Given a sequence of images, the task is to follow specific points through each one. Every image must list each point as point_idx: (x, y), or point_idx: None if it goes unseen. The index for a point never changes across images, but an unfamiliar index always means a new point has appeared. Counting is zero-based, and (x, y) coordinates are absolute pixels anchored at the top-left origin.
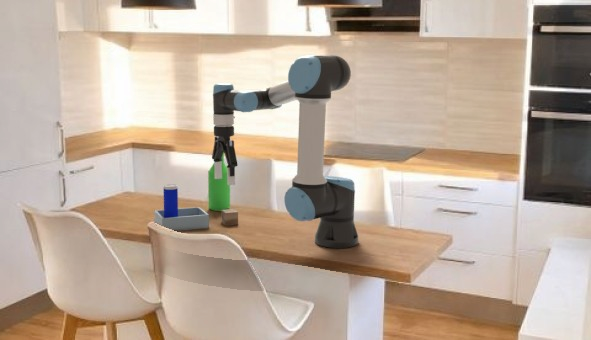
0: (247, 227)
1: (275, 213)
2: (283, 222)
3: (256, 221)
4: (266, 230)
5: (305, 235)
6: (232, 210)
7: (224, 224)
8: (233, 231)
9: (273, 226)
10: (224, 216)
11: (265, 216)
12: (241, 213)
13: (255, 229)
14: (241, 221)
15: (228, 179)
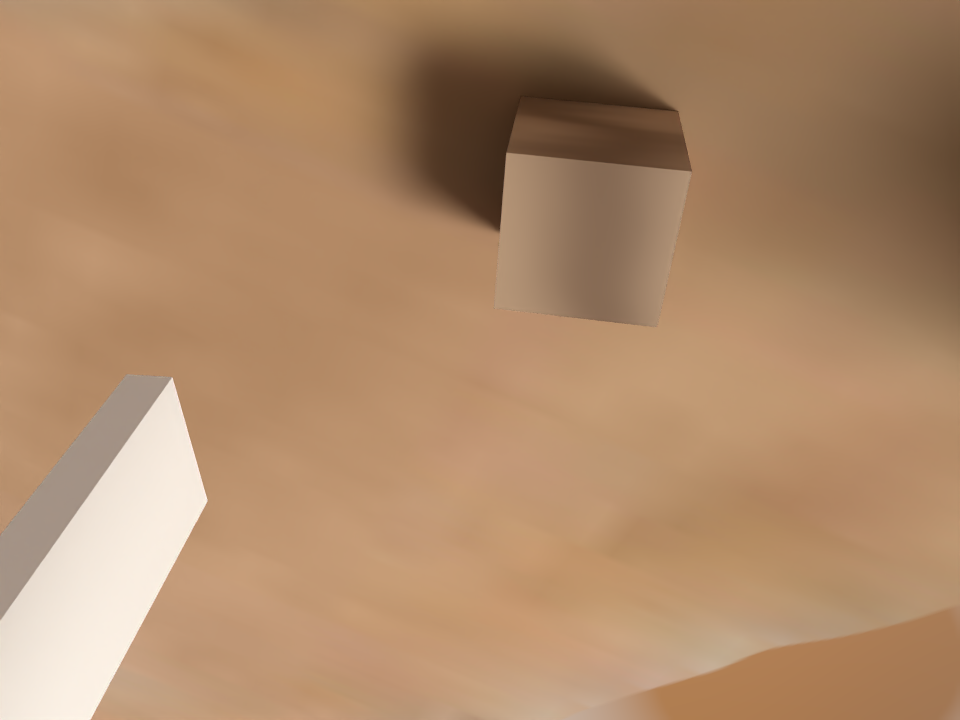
0: (359, 266)
1: (711, 621)
2: (416, 550)
3: (538, 416)
4: (210, 358)
5: (22, 505)
6: (589, 281)
7: (559, 100)
8: (244, 77)
9: (322, 451)
10: (552, 135)
11: (664, 535)
12: (904, 433)
13: (266, 297)
14: None
15: (58, 472)
